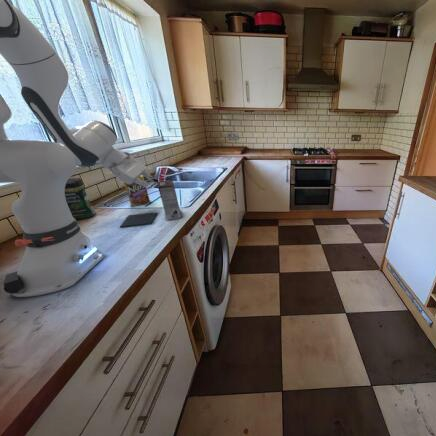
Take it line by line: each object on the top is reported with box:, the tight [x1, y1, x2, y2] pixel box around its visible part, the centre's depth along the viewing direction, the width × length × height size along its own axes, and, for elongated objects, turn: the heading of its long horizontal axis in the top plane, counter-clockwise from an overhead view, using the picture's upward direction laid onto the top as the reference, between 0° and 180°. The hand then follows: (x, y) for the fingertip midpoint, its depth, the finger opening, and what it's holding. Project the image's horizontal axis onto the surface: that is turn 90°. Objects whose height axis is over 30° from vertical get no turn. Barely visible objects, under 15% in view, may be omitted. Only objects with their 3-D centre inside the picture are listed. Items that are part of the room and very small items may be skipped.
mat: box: [119, 212, 158, 228], centre depth 105 cm, size 12×12×1 cm
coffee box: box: [156, 179, 182, 221], centre depth 106 cm, size 9×6×16 cm
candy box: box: [123, 175, 151, 207], centre depth 119 cm, size 9×4×15 cm, turn 123°
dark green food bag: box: [65, 177, 96, 220], centre depth 104 cm, size 10×8×19 cm
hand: (149, 182), depth 100 cm, fingers open, 8 cm apart
